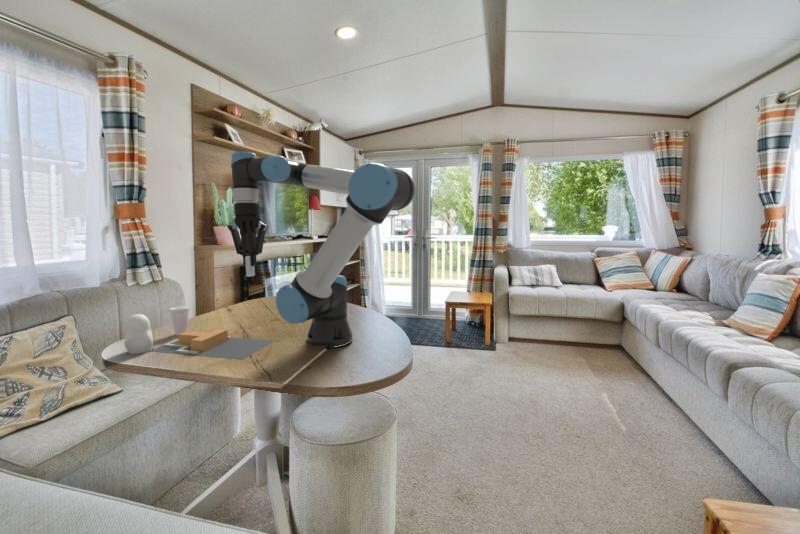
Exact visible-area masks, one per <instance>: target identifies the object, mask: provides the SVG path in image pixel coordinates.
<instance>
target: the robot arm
mask: <svg viewBox="0 0 800 534" xmlns="http://www.w3.org/2000/svg"><path fill="white" fill-rule="evenodd" d="M230 158H231V163H230V168H231V180H232V194H233V195H232V196H233V197H232V198H233V202H234V204H233V211H234V221H233V222H232V223H231V224H228V225H227V229H228V230H229V232H230V235H231V238H232V240H233V244H234V248H235V251H236V254H237V255H240V256H242V261H243V262H242V264H243V266H244V267H245V273H246V274H245V276H246V277H248V278H249V277H255V276H256V272H255V271H256V269H255V267H256V266H257V265H258V264H257V261H258V260H257V256H258V255H260V254H262V253H263V250H264V249H263V247H264V243H265V236H266V231H267V229H268V228H269V225H268V224H267V223H266V224H265V223H264V222H262V219H261V217H260V213H261V212H260V203H258V202H259V201H260V198H259V197H260V196H259V184H260V183H275V184H282V185H290V186H297V187H301V188H302V187H303V188H309V189H313V190H320V191H325V192H331V193H336V194H341V195H347V196H346V198H345V202H346V208H345V209H344V211H343V213H342V215H341V216H340V217H339V219H338V221H337V222H336V224H335V225H334V226H333V229H331V231H330V233H329V234H328V235H327V238H326V239H325V241H324V242H323V243H322V245H321V246H320V248H319V250H318V251H317V253H316V254H315V256H314V257H313V259H312V260H311V262H310V263H309V265H308V267H307V268H306V269H304V270H303V269H302V270H300V271H298V272H297V274H296V275H295V277H294V278H293V280H292V281H291V283H290V284H285V285H283V286H281V287H280V288H279V289H278V290H277V292H276V294H275V304H276V309H277V312H278V313H279V316H280V317H281V318H282V319H283V320H284V321H285V322H287V323H289V324H293V325H297V324H301V323H302V324H303V323H305V322H307V321H310V320H311V323H310V326H309V329H308V333H307V336H306V338H307V339H306V341H307V343H309V345H310V344H311V345H313V346H317V347H318V346H320V347H334V346H339V345H343V344H346V343H348V342H350V341H351V340H352V341H353V332H352V330H351V327H350V323H349V320H348V284H347V283H348V282H347V278H346V276H344V275H340V273H341V272H342V271H343V269H344V268H345V267H346V265H347V264H348V262H349V261H350V259H351V258H352V256H353V255H354V254H355V252H356V251H357V249H358V248H359V247H360V246H361V244H362V242H363V241H364V239H365V238H366V237H367V235H368V234H369V232H370V231H371V229H372V228H373V227H374V226H377V225H381V224H383V222H384V221H385V219H387V217H388V216H389V214H390V212H392V211H393V212H394V211H400V210H402V209H406V207H408V206H409V205H410V203H412V201H413V199H414V197H415V194H416V193H415V192H416V188H415V183H414V180H413V178H412V177H411V175H410V174H408V173H407V172H406V171H404V170H402V169H399V168H394V167H391V166H389V165H387V164H384V163H381V162H377V163H376V162H369V163H364V164H362V165H360V166H359V167H358V168H356V169H355V170H350V169H342V168H335V167H328V166H321V165H316V164H309V163H302V162H296V161H291V160H287V159H286V158H285V156H282V155H273V154H272V155H268V156H261V157H257V154H256V153H253V152H250V151H235V152H233V153H231V157H230ZM257 230H258V231H257Z"/></svg>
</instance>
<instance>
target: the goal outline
mask: <svg viewBox="0 0 800 534" xmlns="http://www.w3.org/2000/svg"><path fill="white" fill-rule="evenodd" d="M231 337H232V336H230V335H228V339H231ZM176 342H178V338H177V339H174V340H171V341H170V342H166V343H164V344H163V345H164V346H167V347H179V348H181V349H179V350H176V352H178V353H189V354H199V351H189V350H186V349H188V348H190V346H189V345H176V344H174V343H176Z"/></svg>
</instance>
